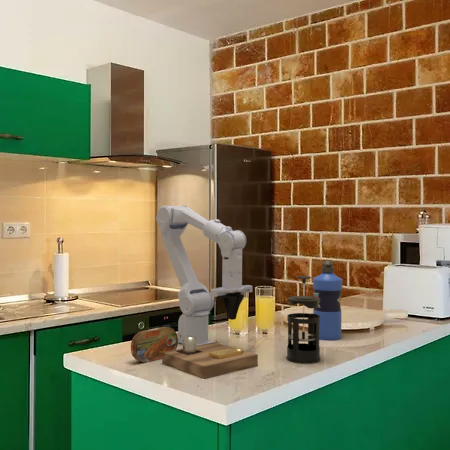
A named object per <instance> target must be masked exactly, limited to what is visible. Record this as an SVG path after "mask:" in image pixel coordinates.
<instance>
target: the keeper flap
mask: <svg viewBox="0 0 450 450" xmlns="http://www.w3.org/2000/svg"><path fill="white" fill-rule="evenodd" d="M230 347H231V348H230V349H224V350H219V351H214V352H209V356H212V357H215V358H218V359H220V358H224V357H229V356H234V355H239V354H242V353H243V351H244V350H243V349H239V348H236V347H232V346H230Z"/></svg>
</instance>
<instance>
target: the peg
mask: <svg viewBox="0 0 450 450" xmlns="http://www.w3.org/2000/svg"><path fill="white" fill-rule="evenodd" d="M182 346H183V347H182V348H183V354H185V355H190V354H195V353H197V337H196V336H192V335H188V336H184V337H183V344H182Z"/></svg>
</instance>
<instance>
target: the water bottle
mask: <svg viewBox="0 0 450 450" xmlns="http://www.w3.org/2000/svg"><path fill="white" fill-rule="evenodd" d="M321 265H322V266H321V267H320V272H321V273H320V274H319V275H317V276H315V277H313V278H312V289H313V297H317V298H320V301H319V307H317V308H312V309H313V310H312V313H313V314H317V315H319V316H320V322H319V341H337V340H338V341H339V340H341V339H342V306H341V298H342V290H343V278H341V277H339V276H338V275H336V274H335V267H334V265H335V264H334V262H333V261H332V260H331V259H325V260H324V261H323V262H322V263H321Z"/></svg>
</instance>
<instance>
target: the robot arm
mask: <svg viewBox="0 0 450 450" xmlns="http://www.w3.org/2000/svg"><path fill="white" fill-rule="evenodd" d="M156 214H157V215H156V217H155V219H156V223H157V225H158V228H159V230H160V234H161V240H162V242H163V246H164V248H165V250H166V253H167V255H168V258H169V259H170V263H171V265H172V267H173V269H174V270H173V271H174V272H175V275H176V278H177V279H178V282H179V285H180V289H179V292H178V293H177V297H178V302H179V303H178V304H179V309H180V311H181V312H182V314H181V315H179V318H178V325H177V326H178V329H177V331H178V333H177V337H178V344H179V343H180V344H182V345H183V337H184V336H188V335H192V336H196V337H197V345H202V344H207V343H213V342H214V340H210V339H209V314H211V311H212V309H213V308H214V306H215V305H214V304H215V302H214V301H215V300H214V297H215V298H216V297H218V296H219V297H220V300H221V301H222V304H223V306H224V308H225V312H226V316H227V320H232V321H233V320H236V319H237V316H238V311H239V308H240V306H241V303H242V301H243V300H244V298H245V296H244V294H245V293H253V285H250V284H245V285H243V250H244V248H245V247H246V245H247V236H246V235H245V233H244V232H243V231H242V230H239V229H238V230H237V229H235V230H233V229H232V227H231V226H226V225H224V224H223V223H221V220H220V219H217V218H215V219H210V220H208V219H207V218H205V217H203V216H202V215H201V214H199V213H197V212H196V211H194V210H193V209H192V208H191V207H188V206H187V205H165V204H164V205H161V206H160V207H159V208H158V210H157V213H156ZM188 225H191V226H193V227H195V228H196V229H199V230H201V231H202V233H203V236H204V237H205V238H208V239H209V240H210V241H212V242H214V243H216V244H217V245H218V247H219V249H220V255H221V257H222V264H221V265H222V266H221V267H222V271H221V272H222V276H221V278H222V279H221V280H222V281H221V282H222V283H221V285H222V286H221V287H215V288H211V289H210V292H209V290H208V288H207V286H206V285H205V284H203V283H201V282H200V281H199V280H198V278H197V275H196V273H195V269H194V268H193V266H192V263H191V261H190V258H189V256H188V254H187V251H186V249H185V245H184V244H183V242H182V238H181V235H183V234H184V232H185V230H186V229H187V227H188ZM243 293H244V294H243Z"/></svg>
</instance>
